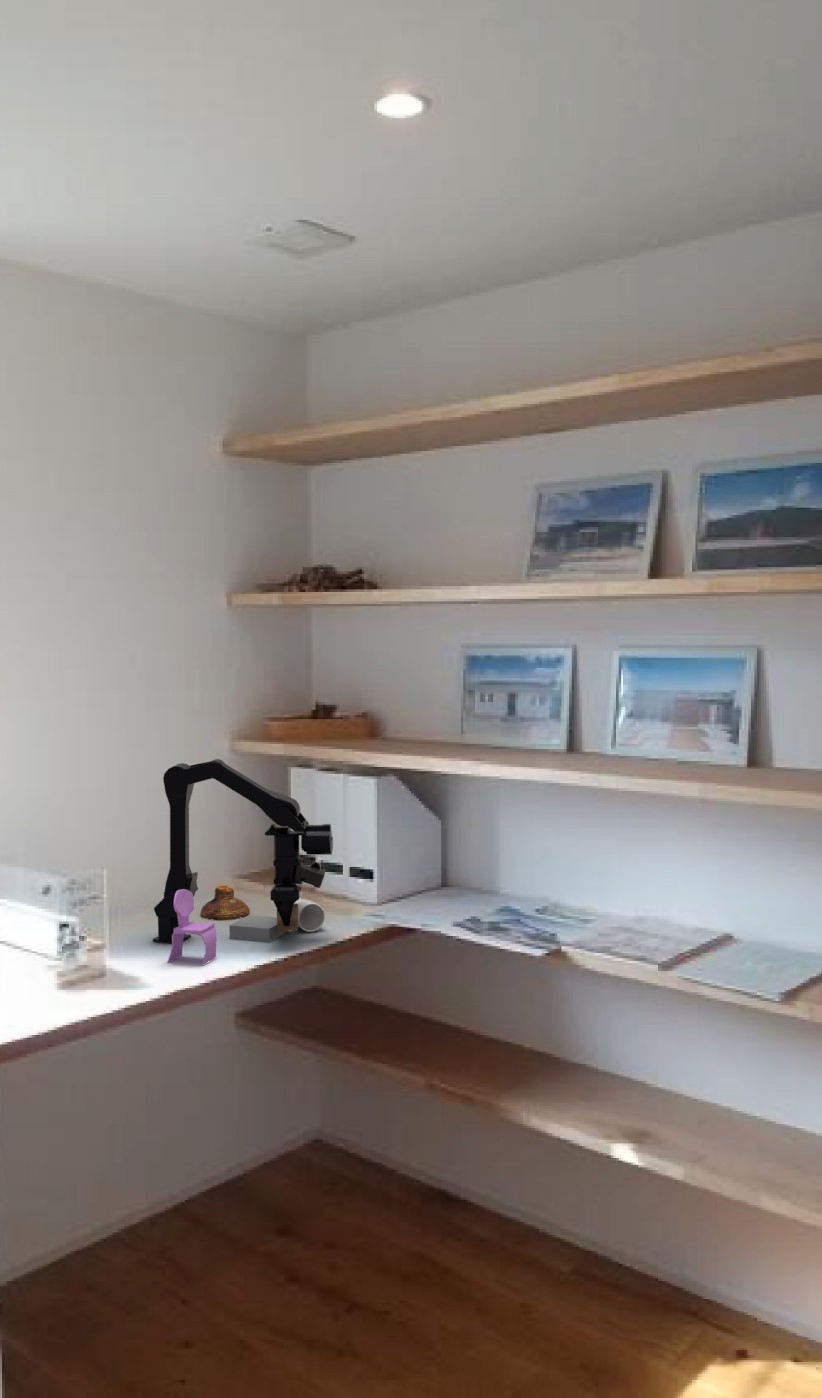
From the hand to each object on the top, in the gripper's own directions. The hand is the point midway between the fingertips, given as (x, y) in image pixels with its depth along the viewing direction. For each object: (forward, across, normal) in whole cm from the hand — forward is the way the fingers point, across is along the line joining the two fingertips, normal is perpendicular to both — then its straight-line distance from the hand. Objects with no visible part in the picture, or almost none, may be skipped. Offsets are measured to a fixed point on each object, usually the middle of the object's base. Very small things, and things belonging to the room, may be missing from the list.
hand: (287, 923), depth 264 cm
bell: (+4, +25, +17) cm, 30 cm away
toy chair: (+4, -15, +19) cm, 25 cm away
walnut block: (+1, 0, 0) cm, 1 cm away
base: (+4, +5, +7) cm, 9 cm away
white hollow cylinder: (+1, +20, 0) cm, 20 cm away
